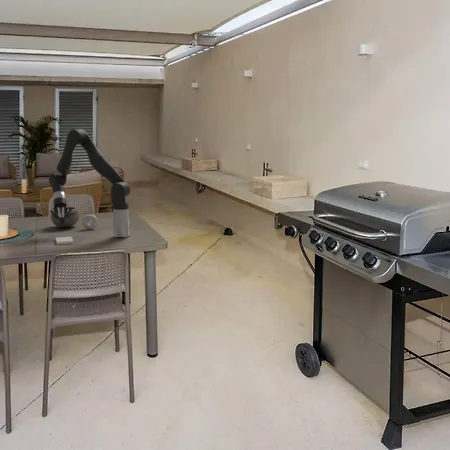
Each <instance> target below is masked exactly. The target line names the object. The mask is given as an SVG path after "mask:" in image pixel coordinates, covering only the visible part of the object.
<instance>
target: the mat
mask: <svg viewBox="0 0 450 450" xmlns="http://www.w3.org/2000/svg"><path fill="white" fill-rule="evenodd" d="M88 236H89V235H79V234H78V235H74V234H73V235H72V234H71V235H69V234H67V235H63V234H62V235H61V234H60V235H59V234H55V235H54V234H51V235H47V236H46V237H44V238H42V239H41V240H40V241H38V242H37V243H36V245H57V243H56V237H72V239H73V244H61V245H67V246H68V245H69V246H72V245H74V246H76V245H79V244H81V243H82V242H83V241H84V240H86V238H88Z"/></svg>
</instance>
